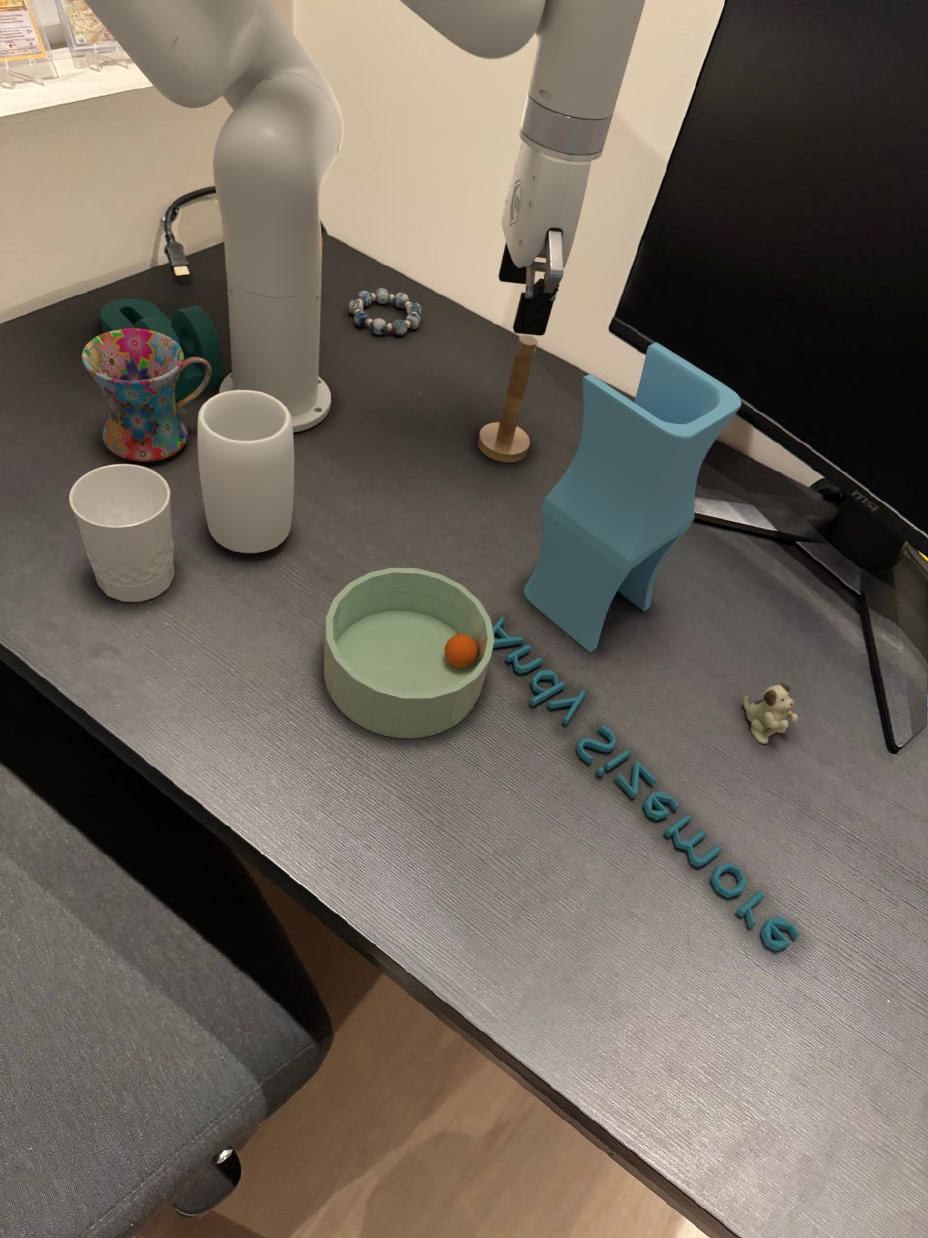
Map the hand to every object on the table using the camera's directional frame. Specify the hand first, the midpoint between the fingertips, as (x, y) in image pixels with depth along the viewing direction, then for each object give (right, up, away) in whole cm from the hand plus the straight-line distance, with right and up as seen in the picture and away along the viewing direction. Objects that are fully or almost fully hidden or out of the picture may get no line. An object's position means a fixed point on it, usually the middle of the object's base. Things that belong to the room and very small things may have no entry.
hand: (520, 306), depth 86 cm
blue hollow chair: (+6, -30, -1) cm, 31 cm away
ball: (-6, -35, -11) cm, 37 cm away
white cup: (-36, -28, -8) cm, 46 cm away
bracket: (-42, 0, +15) cm, 45 cm away
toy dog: (+22, -42, -7) cm, 48 cm away
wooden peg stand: (-1, -12, +13) cm, 18 cm away
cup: (-27, -24, -2) cm, 36 cm away
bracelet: (-16, +8, +28) cm, 33 cm away
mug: (-38, -13, +5) cm, 41 cm away
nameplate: (+8, -45, -13) cm, 47 cm away
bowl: (-11, -37, -10) cm, 40 cm away
